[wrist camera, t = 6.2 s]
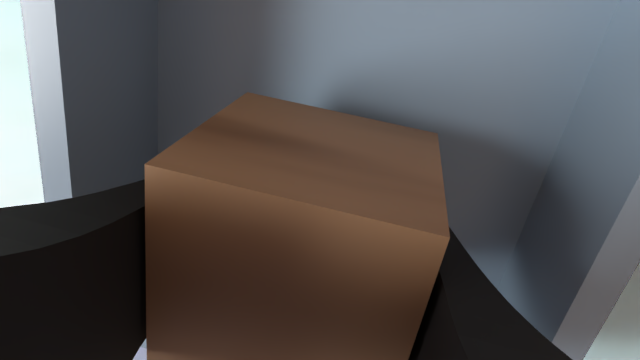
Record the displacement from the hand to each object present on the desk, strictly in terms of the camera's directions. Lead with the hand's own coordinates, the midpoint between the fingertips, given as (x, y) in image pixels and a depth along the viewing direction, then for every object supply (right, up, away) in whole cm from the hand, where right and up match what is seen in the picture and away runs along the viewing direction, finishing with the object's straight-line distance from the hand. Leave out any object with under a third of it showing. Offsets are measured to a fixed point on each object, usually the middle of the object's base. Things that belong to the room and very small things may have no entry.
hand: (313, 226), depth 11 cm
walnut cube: (0, +1, +1) cm, 2 cm away
